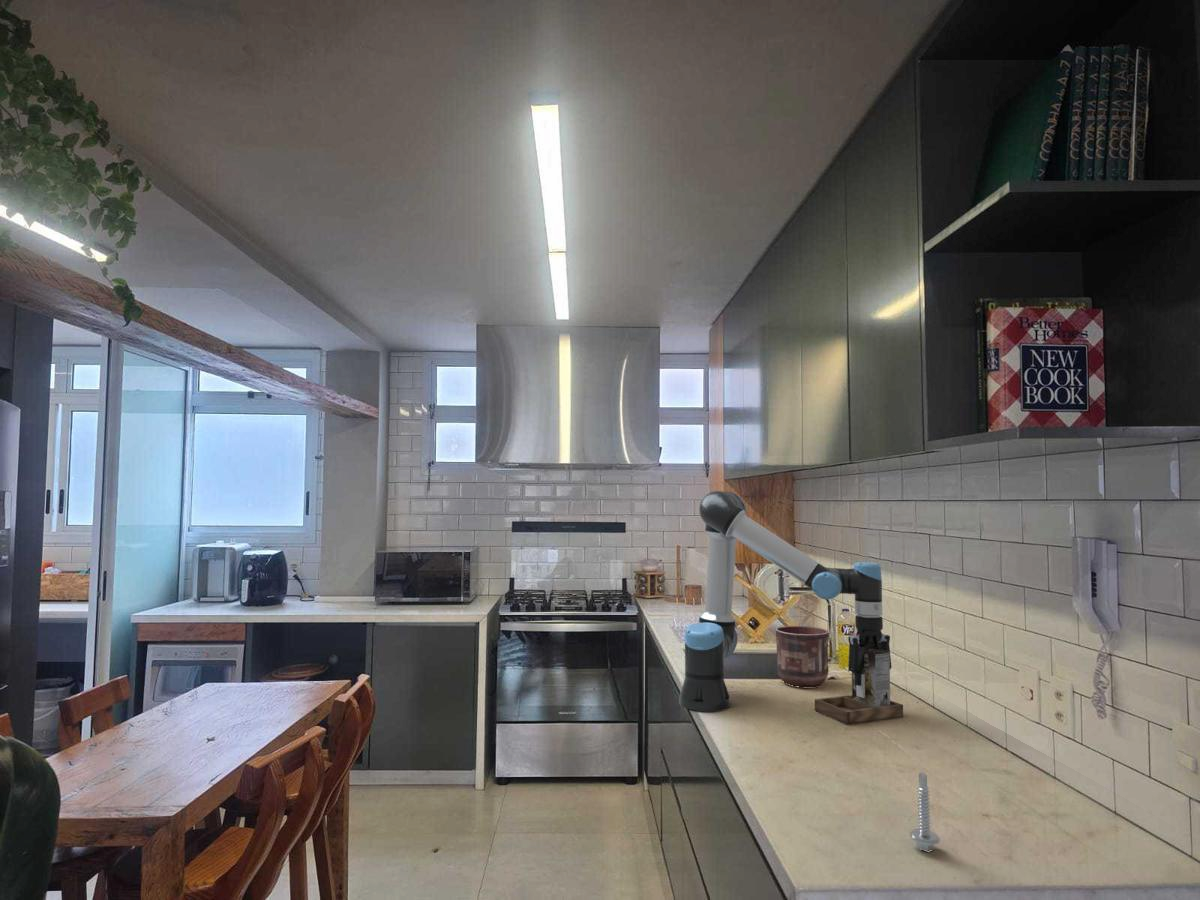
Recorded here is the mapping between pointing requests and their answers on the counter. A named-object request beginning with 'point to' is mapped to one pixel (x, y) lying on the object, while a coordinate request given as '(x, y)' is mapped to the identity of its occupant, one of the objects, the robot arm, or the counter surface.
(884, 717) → the walnut crate
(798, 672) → the pottery
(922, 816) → the screw
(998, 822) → the counter surface
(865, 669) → the coffee box
